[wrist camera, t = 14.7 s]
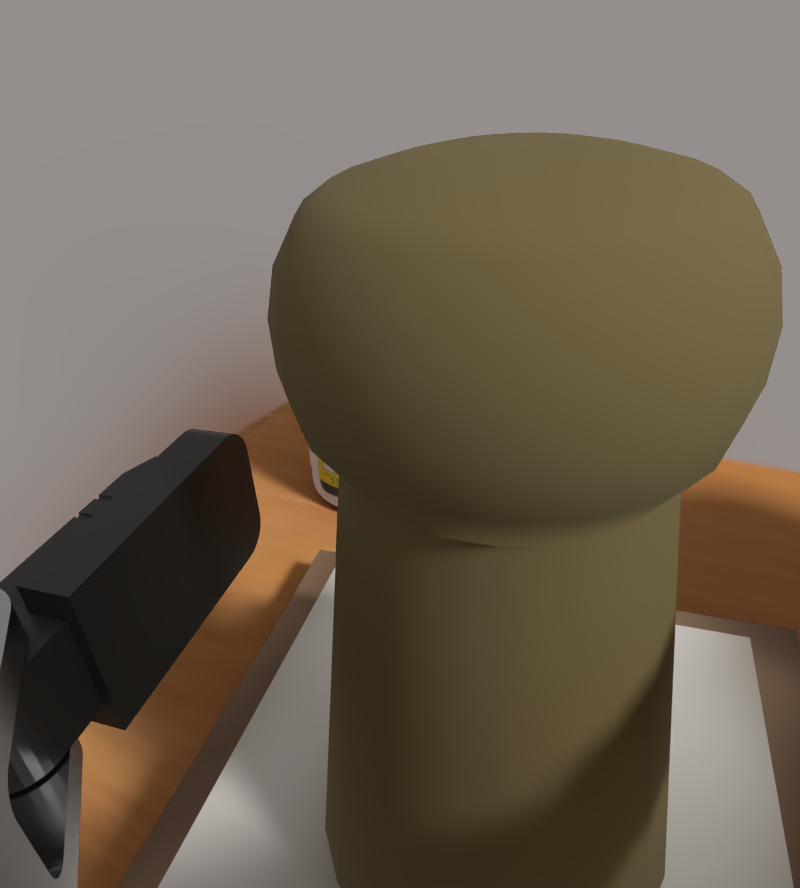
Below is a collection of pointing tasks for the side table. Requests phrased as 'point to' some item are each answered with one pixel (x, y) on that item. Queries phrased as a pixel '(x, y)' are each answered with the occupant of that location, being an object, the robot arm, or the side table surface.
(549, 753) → the cork
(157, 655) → the robot arm
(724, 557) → the side table surface
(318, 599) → the base
